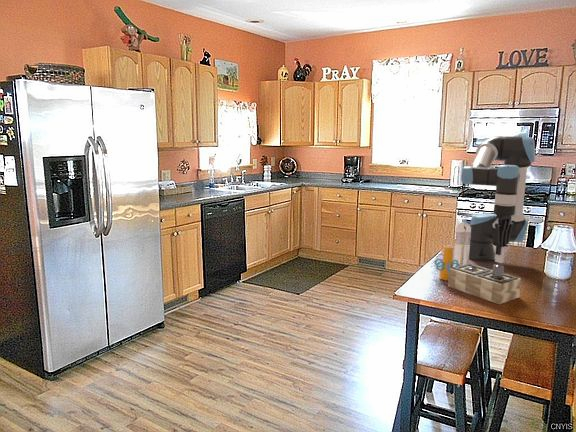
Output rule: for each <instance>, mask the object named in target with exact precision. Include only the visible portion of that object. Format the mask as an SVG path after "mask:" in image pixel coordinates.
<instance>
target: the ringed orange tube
mask: <svg viewBox="0 0 576 432" xmlns="http://www.w3.org/2000/svg"><path fill="white" fill-rule="evenodd" d="M437 261H438V262H437ZM454 261H456V262H454ZM439 264H440V265H439ZM454 264H456V266H455V267H457V266H460V264H459V263H458V261H457V260H454V246H452V245H444V246H443V254H442V258H436V259H435V260H434V265H435V267H436V270H438V271H439V279H440V280H443V281H448V278H449V269H450V268H453V265H454Z"/></svg>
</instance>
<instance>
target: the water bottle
mask: <svg viewBox="0 0 576 432" xmlns="http://www.w3.org/2000/svg"><path fill="white" fill-rule="evenodd" d="M455 230H456V231H455V241H454V249H453V260H457V261H458V263H459V264H460V266H461V265H464V264H470V263H469V262H470V261H469V260H470V259H469V253H470V252H469V251H470V238H471V230H472V228H471V225H470V223H468V222H467V218H463V219H462V221H461V222H460V223H458V224H457V226H456V229H455ZM454 262H456V261H454ZM455 266H456V264H454V265H453V267H455Z"/></svg>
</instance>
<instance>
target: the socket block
mask: <svg viewBox="0 0 576 432" xmlns="http://www.w3.org/2000/svg"><path fill="white" fill-rule="evenodd" d="M467 267H475V268H477V270H476V272H471V271H467V270H466V269H467ZM492 272H493V269H489V268H486V267H482V266H479V265H477V264H472V263H469V264H464V265H461V266H457V267H453V268H450V269H449V278H448V280H447V287H448V288H451V289H454V290H458V291H460V292H464V293H465V294H469V295H471V296H474V297H477V298H481V299H483V300H486V301H489V302H492V303H494V304H497V305H502V304H504V303H507V302H509V301H513V300H515V299H518V298H520V295H521V294H520V293H521V284H522V278H521V277H518V276H513V275H510V274H507V273H504V272H503V279H502V280H497V279H494V278H492Z"/></svg>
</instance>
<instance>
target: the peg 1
mask: <svg viewBox="0 0 576 432" xmlns="http://www.w3.org/2000/svg"><path fill="white" fill-rule="evenodd" d="M466 270H467V271H471V272H476V270H477V268H475V267H467V269H466Z"/></svg>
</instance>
